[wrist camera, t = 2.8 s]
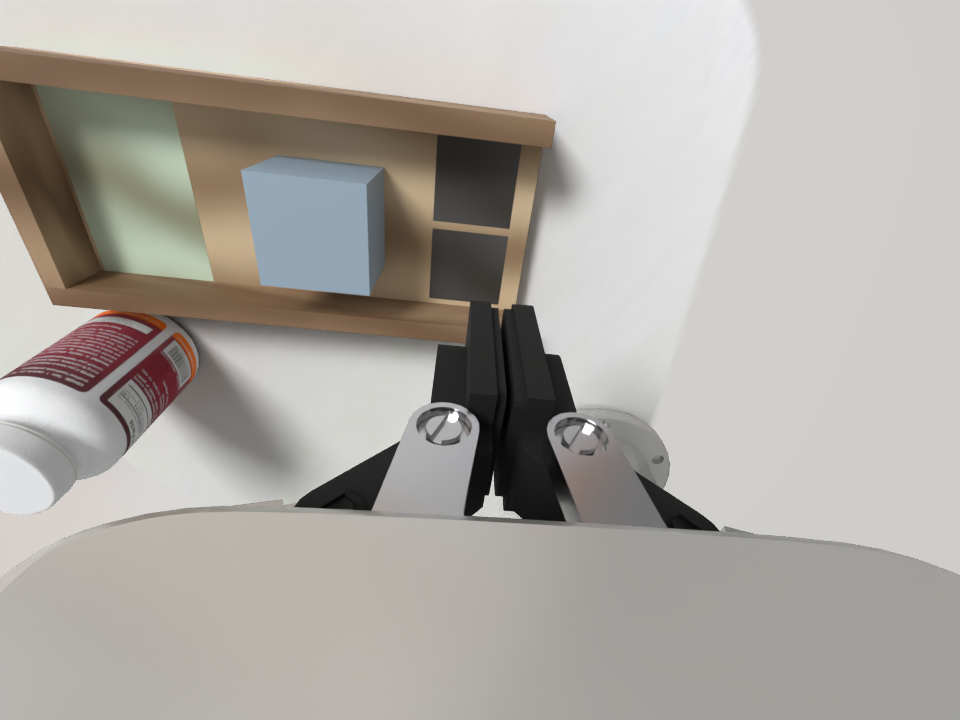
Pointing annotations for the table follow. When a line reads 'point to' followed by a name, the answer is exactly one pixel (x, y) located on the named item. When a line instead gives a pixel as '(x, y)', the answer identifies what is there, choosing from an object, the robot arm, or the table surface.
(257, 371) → the table surface
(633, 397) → the table surface
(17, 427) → the pill bottle
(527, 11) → the table surface
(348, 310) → the box
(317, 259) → the block
